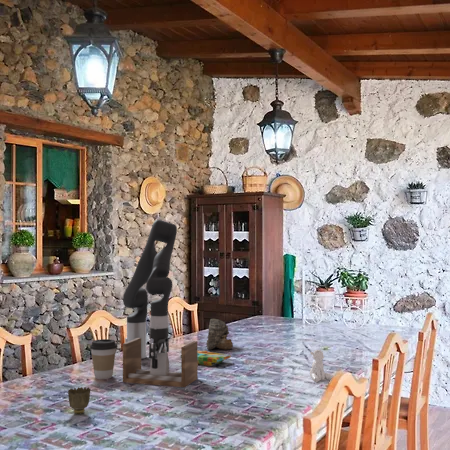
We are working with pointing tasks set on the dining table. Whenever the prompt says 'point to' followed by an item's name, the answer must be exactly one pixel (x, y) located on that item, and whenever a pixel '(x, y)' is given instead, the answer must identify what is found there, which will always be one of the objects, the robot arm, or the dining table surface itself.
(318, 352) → the seated beast figurine
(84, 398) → the cup
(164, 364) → the white food carton
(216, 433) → the dining table surface
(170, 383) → the wooden rack
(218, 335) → the rock
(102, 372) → the coffee cup
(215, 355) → the puzzle game
